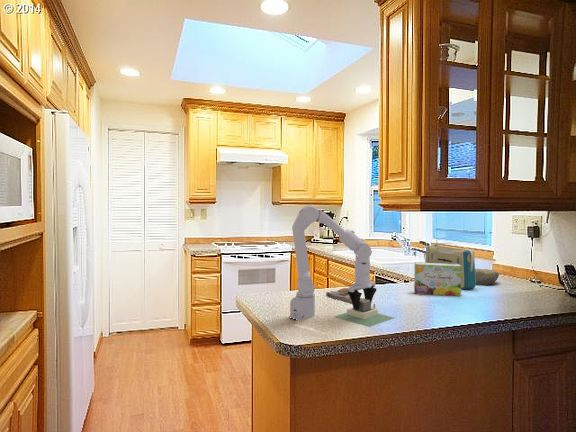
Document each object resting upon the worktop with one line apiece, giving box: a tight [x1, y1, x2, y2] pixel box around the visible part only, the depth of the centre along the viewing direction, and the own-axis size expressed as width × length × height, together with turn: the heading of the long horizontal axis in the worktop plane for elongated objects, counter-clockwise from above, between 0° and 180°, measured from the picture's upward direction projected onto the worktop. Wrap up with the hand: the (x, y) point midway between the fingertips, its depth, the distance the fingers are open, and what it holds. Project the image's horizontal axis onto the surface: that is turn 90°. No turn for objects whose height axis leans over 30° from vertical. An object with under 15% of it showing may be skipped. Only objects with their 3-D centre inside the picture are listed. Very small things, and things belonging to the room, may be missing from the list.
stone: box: [475, 268, 500, 286], centre depth 223 cm, size 14×19×8 cm
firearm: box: [325, 287, 352, 305], centre depth 187 cm, size 29×2×15 cm
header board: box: [333, 312, 395, 328], centre depth 156 cm, size 16×17×1 cm
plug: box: [354, 297, 372, 312], centre depth 158 cm, size 4×4×6 cm
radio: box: [424, 237, 477, 291], centre depth 219 cm, size 30×8×25 cm, turn 25°
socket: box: [346, 306, 379, 319], centre depth 159 cm, size 8×8×2 cm
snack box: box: [413, 261, 462, 297], centre depth 198 cm, size 21×6×15 cm, turn 76°
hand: (362, 307), depth 159 cm, fingers open, 7 cm apart
